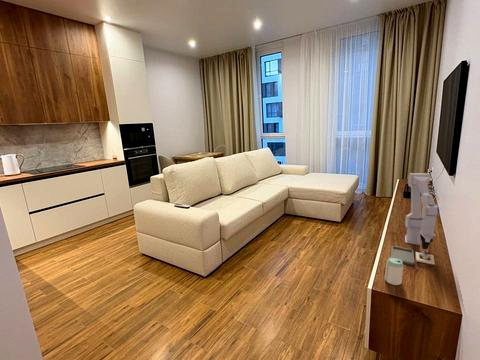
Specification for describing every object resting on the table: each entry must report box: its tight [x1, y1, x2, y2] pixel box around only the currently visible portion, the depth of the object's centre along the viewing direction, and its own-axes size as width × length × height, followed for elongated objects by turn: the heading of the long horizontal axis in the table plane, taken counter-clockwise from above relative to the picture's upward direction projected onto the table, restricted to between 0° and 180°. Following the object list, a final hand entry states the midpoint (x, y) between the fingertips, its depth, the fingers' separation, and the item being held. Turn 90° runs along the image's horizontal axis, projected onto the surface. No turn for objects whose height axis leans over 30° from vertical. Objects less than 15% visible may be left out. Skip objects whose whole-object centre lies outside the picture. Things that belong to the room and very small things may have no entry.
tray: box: [390, 245, 416, 266], centre depth 147 cm, size 16×11×2 cm
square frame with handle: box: [415, 241, 436, 266], centre depth 141 cm, size 12×8×6 cm
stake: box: [421, 251, 429, 264], centre depth 140 cm, size 4×2×6 cm, turn 149°
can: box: [384, 256, 404, 286], centre depth 125 cm, size 7×7×12 cm
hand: (424, 247), depth 145 cm, fingers closed on square frame with handle
